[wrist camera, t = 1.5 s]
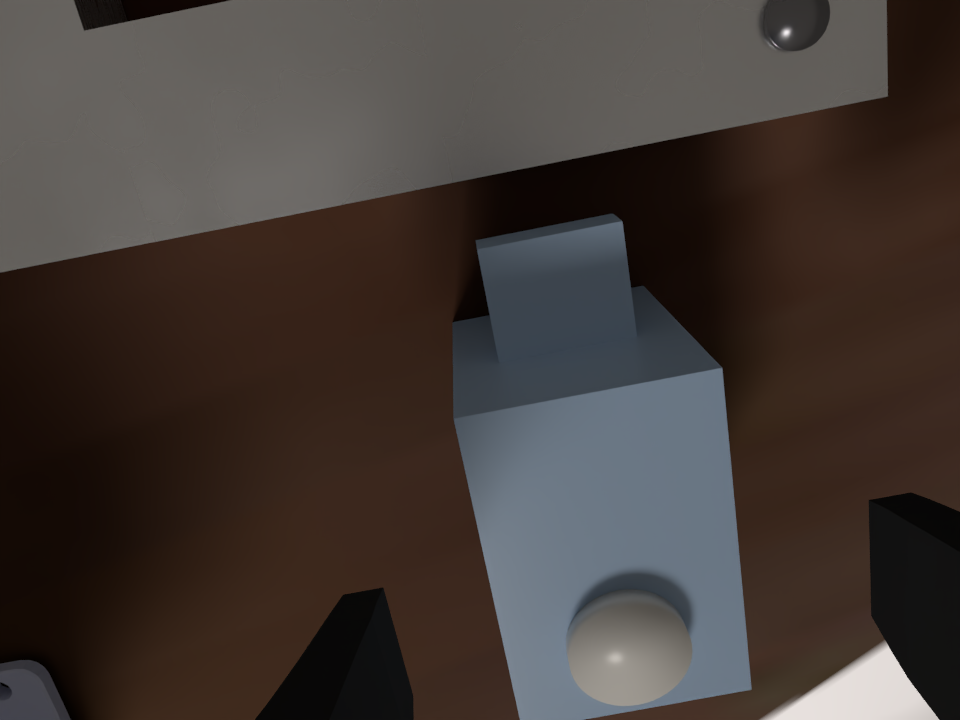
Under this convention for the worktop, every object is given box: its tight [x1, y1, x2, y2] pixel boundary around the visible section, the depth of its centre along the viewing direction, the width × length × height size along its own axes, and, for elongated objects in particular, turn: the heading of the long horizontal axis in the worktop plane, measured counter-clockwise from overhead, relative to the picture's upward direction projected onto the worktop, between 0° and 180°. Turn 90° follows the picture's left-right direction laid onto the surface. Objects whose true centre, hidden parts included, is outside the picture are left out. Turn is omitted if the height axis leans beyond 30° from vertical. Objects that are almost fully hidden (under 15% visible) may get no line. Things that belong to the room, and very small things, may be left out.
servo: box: [453, 213, 751, 720], centre depth 15 cm, size 4×10×5 cm, turn 11°
